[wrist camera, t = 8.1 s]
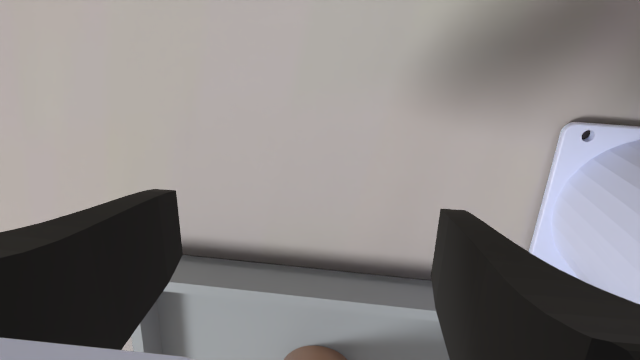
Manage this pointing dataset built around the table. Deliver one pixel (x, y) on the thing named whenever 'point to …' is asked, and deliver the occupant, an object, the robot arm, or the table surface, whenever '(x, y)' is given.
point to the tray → (289, 313)
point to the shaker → (314, 354)
